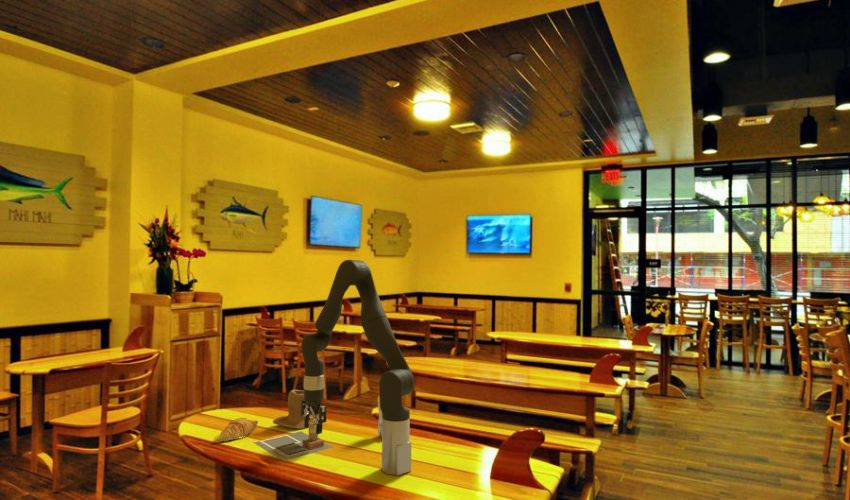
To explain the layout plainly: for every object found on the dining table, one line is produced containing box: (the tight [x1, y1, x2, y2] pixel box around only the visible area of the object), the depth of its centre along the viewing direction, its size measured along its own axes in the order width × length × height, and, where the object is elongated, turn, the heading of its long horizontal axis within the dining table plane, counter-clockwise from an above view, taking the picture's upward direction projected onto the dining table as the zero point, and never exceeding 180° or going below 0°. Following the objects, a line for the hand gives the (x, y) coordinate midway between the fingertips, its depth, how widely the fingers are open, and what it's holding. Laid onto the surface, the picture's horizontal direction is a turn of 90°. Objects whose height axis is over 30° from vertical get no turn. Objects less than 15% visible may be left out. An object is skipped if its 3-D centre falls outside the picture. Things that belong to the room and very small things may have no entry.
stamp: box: [303, 417, 325, 450], centre depth 192 cm, size 6×6×10 cm
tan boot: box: [272, 389, 305, 430], centre depth 218 cm, size 15×12×15 cm
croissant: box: [216, 417, 258, 443], centre depth 206 cm, size 21×10×8 cm, turn 158°
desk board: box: [253, 431, 333, 461], centre depth 193 cm, size 24×20×2 cm
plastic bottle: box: [376, 394, 382, 438], centre depth 205 cm, size 6×7×20 cm
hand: (313, 430), depth 192 cm, fingers open, 8 cm apart
